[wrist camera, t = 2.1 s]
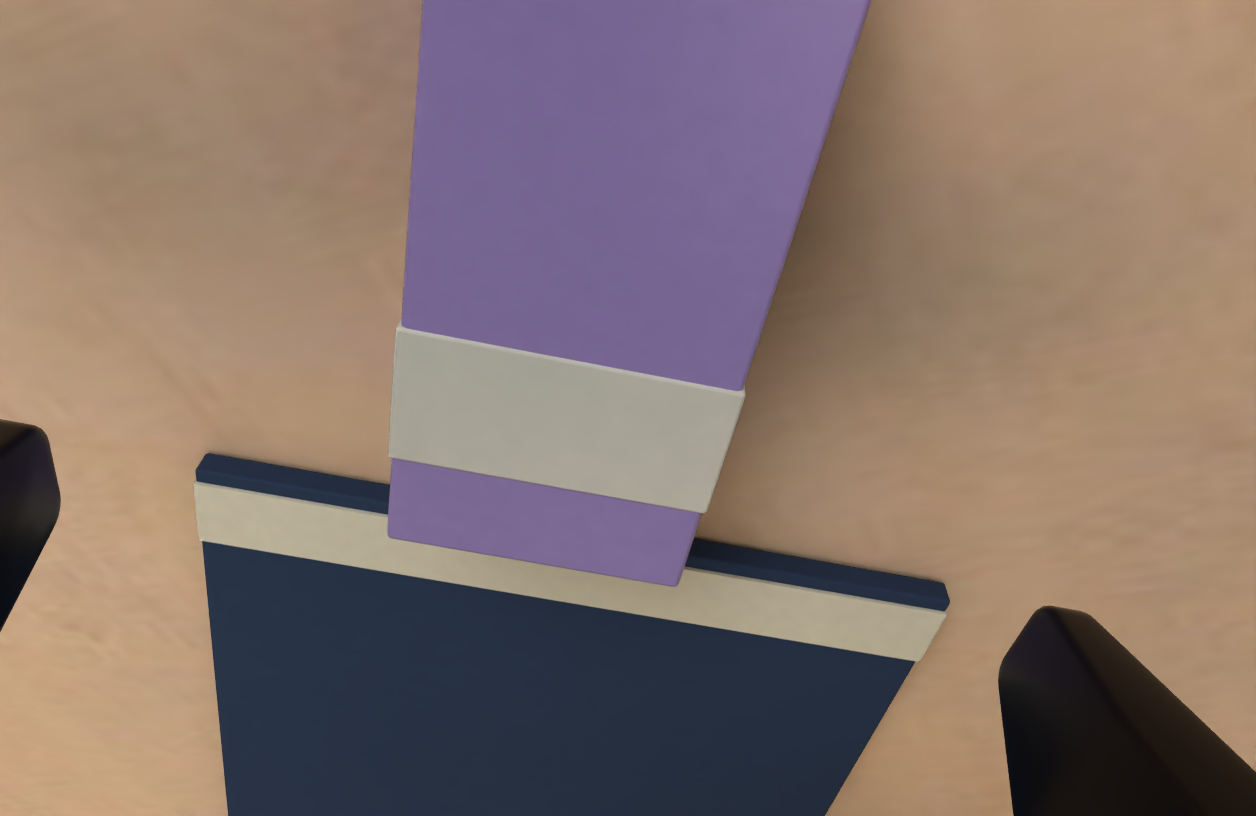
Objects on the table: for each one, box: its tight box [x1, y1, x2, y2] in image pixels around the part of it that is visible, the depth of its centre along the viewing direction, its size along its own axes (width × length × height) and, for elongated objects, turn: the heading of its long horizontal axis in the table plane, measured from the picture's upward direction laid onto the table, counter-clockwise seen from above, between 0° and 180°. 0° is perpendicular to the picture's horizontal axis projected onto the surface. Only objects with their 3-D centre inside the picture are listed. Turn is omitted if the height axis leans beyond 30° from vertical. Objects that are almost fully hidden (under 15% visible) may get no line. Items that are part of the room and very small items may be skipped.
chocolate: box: [387, 0, 871, 587], centre depth 14 cm, size 5×11×4 cm, turn 169°
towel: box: [193, 453, 950, 816], centre depth 25 cm, size 16×18×1 cm
